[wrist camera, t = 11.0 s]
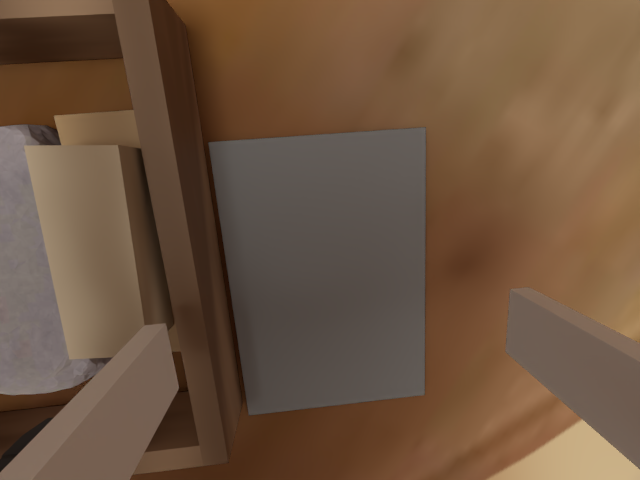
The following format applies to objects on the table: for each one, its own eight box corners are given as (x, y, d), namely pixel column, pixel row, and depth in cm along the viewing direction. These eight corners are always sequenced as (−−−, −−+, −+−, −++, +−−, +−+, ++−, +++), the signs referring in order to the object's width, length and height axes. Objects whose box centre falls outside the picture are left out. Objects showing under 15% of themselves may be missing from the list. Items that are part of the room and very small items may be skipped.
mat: (249, 412, 19) (248, 415, 19) (209, 142, 15) (208, 142, 15) (423, 392, 20) (424, 394, 19) (424, 127, 16) (425, 127, 16)
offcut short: (107, 327, 14) (69, 359, 12) (76, 150, 13) (24, 145, 10) (173, 324, 15) (149, 355, 12) (151, 149, 13) (117, 145, 10)
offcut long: (146, 327, 18) (117, 358, 15) (100, 126, 15) (53, 115, 12) (210, 320, 18) (193, 349, 15) (174, 120, 15) (145, 108, 13)
